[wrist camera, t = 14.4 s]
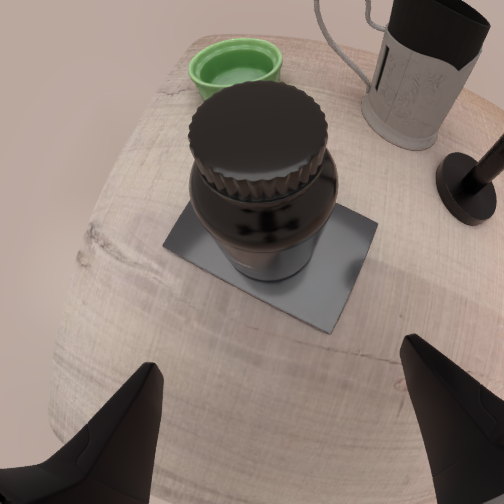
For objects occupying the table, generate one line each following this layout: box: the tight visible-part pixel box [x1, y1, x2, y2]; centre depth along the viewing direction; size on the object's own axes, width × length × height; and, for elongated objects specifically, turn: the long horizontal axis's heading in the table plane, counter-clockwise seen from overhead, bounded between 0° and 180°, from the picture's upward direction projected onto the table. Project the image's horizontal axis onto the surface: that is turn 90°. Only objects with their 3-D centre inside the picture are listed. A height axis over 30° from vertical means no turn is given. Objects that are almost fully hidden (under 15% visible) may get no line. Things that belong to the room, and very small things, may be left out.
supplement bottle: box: [188, 80, 338, 280], centre depth 14 cm, size 7×7×12 cm
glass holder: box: [314, 0, 491, 151], centre depth 16 cm, size 9×14×15 cm, turn 70°
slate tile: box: [162, 199, 378, 334], centre depth 20 cm, size 9×14×1 cm, turn 62°
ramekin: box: [188, 38, 282, 101], centre depth 23 cm, size 9×9×4 cm
